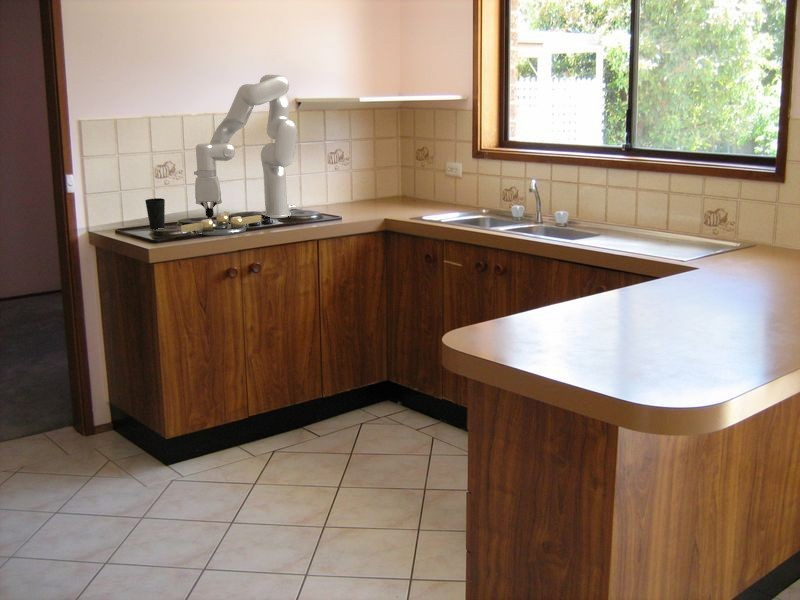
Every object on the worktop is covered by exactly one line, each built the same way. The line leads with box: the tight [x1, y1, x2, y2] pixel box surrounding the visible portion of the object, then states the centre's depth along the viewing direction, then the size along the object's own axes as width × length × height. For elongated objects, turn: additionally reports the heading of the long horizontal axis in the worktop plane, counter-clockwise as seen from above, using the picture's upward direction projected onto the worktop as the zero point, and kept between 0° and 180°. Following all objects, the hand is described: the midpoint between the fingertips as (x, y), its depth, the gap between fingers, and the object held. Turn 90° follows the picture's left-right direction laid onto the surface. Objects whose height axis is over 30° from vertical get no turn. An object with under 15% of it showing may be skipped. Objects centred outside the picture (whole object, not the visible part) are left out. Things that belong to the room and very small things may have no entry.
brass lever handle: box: [229, 214, 263, 228], centre depth 366 cm, size 14×5×4 cm, turn 134°
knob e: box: [180, 218, 214, 233], centre depth 355 cm, size 14×5×4 cm, turn 138°
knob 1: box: [216, 210, 230, 225], centre depth 373 cm, size 14×5×4 cm, turn 3°
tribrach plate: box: [195, 222, 247, 237], centre depth 363 cm, size 20×20×3 cm
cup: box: [144, 197, 166, 230], centre depth 368 cm, size 8×8×12 cm
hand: (209, 217), depth 378 cm, fingers closed
